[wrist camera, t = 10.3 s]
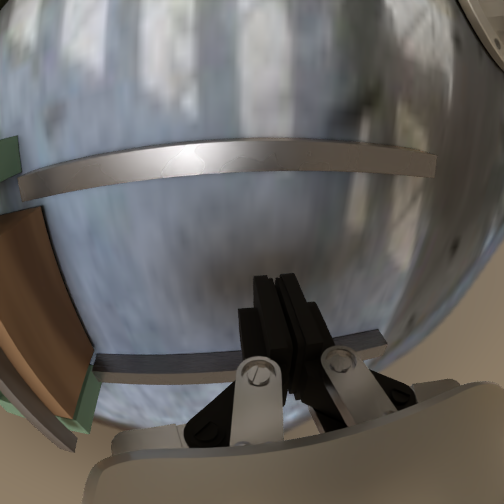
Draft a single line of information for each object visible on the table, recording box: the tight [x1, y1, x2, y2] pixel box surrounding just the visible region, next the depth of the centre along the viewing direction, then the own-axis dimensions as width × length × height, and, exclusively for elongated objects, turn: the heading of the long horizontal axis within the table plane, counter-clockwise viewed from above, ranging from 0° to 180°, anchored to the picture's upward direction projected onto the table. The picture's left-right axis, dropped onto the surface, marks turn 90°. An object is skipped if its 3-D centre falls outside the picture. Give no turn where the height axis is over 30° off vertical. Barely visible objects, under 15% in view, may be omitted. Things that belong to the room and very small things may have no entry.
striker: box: [0, 206, 94, 452], centre depth 10 cm, size 4×16×7 cm, turn 1°
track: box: [17, 138, 437, 385], centre depth 14 cm, size 20×14×2 cm
